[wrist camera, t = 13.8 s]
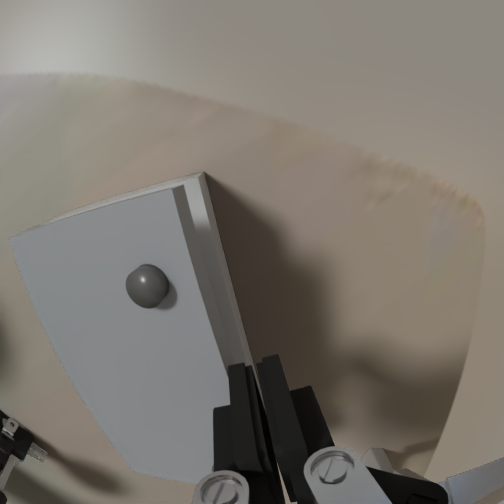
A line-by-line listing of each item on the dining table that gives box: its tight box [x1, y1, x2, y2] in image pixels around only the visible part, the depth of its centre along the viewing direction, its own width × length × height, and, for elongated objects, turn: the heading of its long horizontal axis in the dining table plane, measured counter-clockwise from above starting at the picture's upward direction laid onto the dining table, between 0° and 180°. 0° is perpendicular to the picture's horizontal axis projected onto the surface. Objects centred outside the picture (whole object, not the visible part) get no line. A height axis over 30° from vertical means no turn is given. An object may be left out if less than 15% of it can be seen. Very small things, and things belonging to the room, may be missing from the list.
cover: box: [8, 184, 234, 484], centre depth 11 cm, size 14×8×1 cm, turn 12°
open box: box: [24, 172, 265, 409], centre depth 16 cm, size 14×8×5 cm, turn 12°
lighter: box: [361, 448, 431, 482], centre depth 20 cm, size 7×2×8 cm, turn 158°
